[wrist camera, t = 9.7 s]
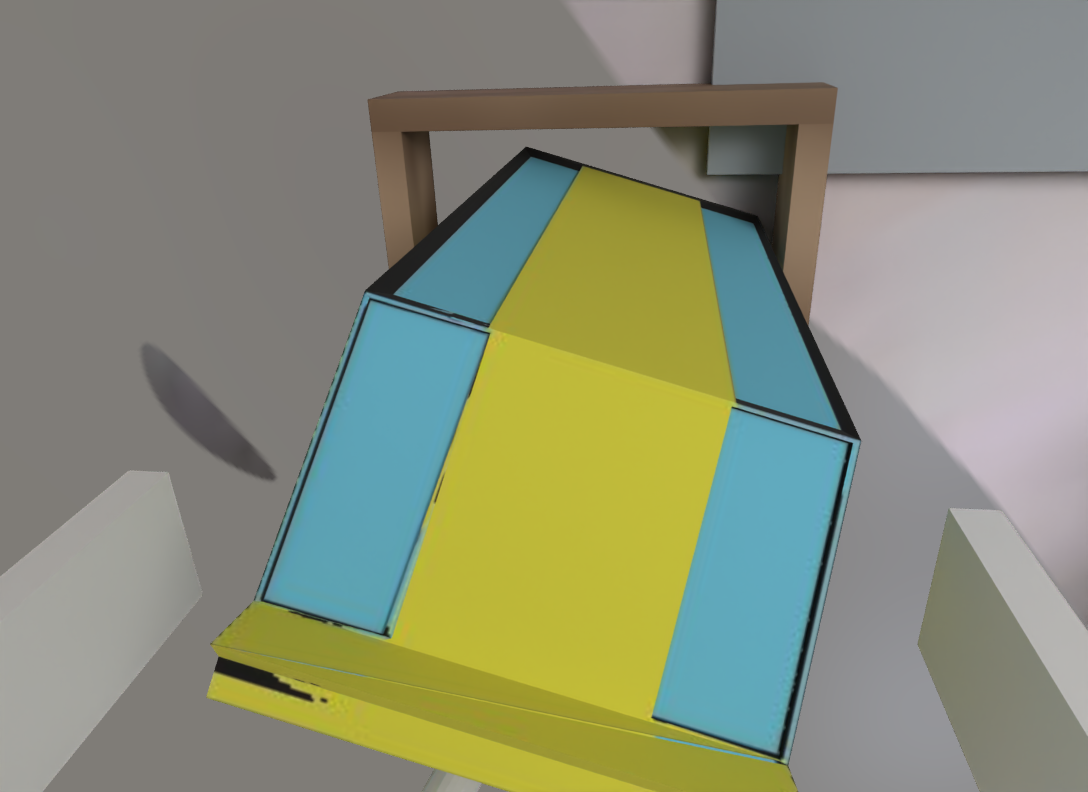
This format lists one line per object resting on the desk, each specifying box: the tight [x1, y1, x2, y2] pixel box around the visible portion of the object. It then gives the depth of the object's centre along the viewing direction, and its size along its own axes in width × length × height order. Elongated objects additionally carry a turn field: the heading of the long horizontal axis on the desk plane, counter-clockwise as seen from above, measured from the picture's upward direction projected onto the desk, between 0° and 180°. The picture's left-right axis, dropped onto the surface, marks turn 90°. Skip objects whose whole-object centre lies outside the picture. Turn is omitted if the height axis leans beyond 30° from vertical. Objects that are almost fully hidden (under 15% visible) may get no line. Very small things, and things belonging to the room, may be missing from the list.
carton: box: [207, 147, 861, 792], centre depth 16 cm, size 7×8×18 cm
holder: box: [368, 82, 838, 324], centre depth 23 cm, size 13×12×2 cm
